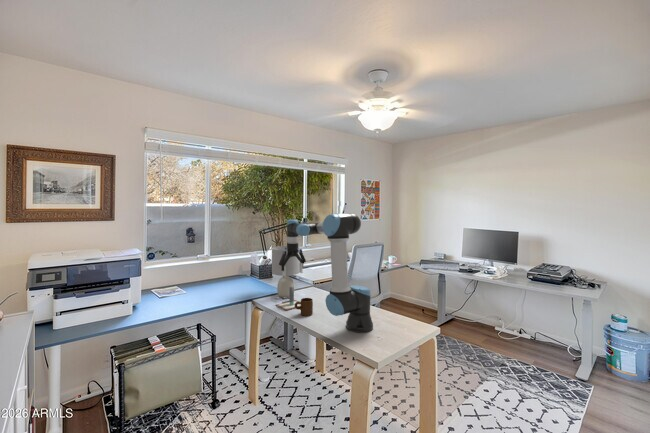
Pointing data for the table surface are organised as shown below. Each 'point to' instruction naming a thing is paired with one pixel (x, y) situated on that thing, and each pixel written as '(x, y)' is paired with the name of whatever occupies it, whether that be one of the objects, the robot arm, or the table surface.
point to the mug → (305, 306)
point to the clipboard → (287, 305)
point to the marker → (291, 296)
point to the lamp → (291, 269)
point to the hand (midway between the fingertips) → (292, 274)
